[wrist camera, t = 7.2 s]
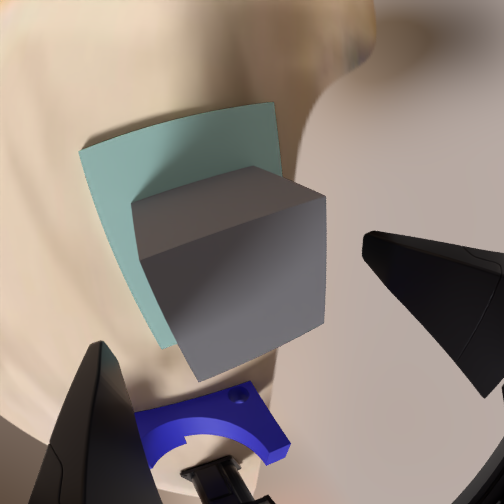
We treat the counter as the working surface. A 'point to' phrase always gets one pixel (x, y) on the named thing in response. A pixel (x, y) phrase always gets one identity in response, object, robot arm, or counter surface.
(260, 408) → the blue arched bracket
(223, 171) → the teal board
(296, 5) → the counter surface
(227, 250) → the gray cube block
